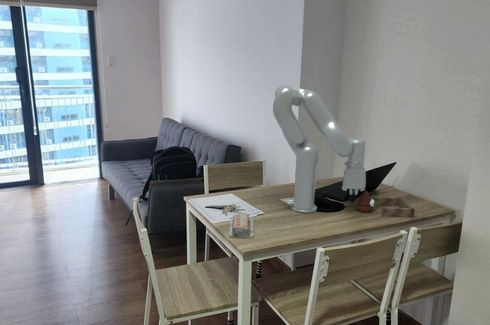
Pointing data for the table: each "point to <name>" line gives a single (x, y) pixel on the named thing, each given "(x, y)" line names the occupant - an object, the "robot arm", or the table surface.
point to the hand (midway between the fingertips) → (352, 201)
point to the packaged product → (241, 226)
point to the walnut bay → (403, 211)
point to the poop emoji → (365, 203)
